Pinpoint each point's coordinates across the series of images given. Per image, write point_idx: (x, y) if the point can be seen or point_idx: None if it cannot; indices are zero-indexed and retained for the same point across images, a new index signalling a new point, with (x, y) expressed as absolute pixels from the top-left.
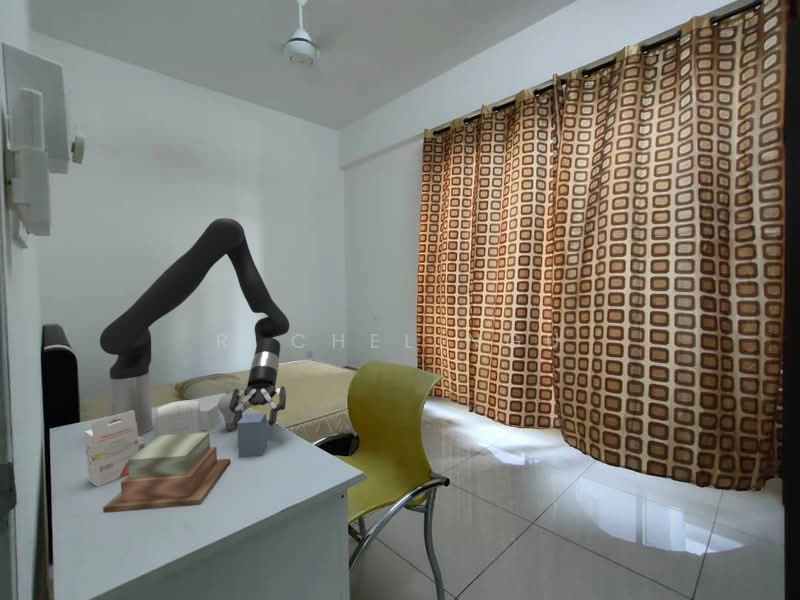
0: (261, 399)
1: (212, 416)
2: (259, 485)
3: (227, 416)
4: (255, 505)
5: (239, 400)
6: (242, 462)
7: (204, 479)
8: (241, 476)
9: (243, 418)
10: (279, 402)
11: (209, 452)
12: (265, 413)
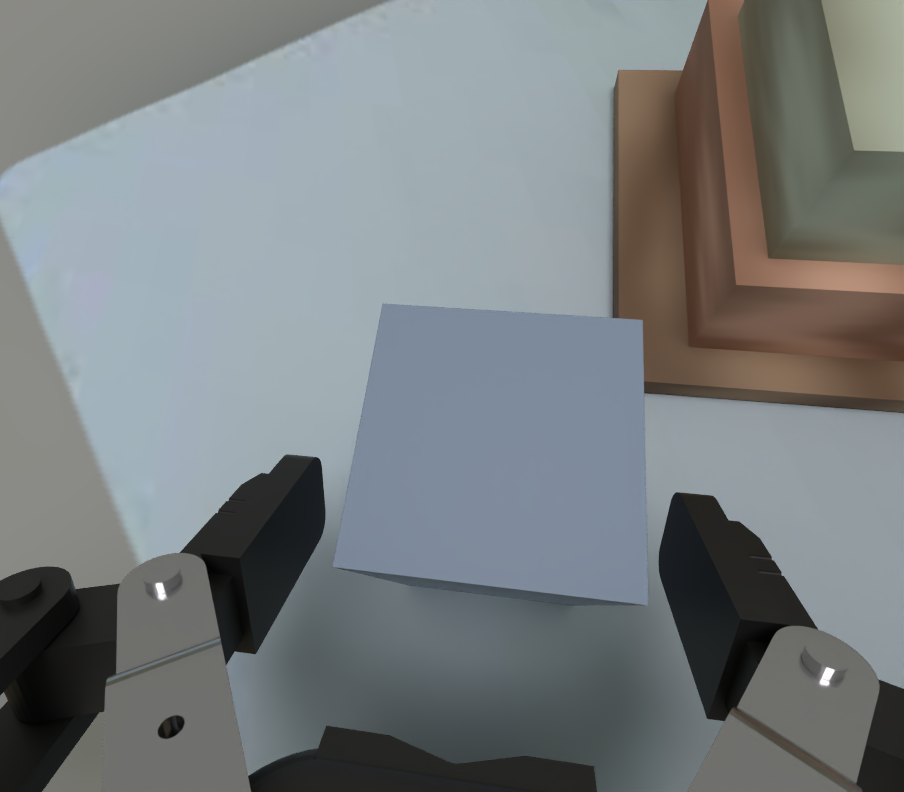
0: (353, 785)
1: None
2: (399, 163)
3: None
4: (397, 62)
5: None
6: None
7: (676, 193)
8: (500, 241)
9: (612, 449)
10: (27, 629)
11: (740, 209)
12: (337, 564)
